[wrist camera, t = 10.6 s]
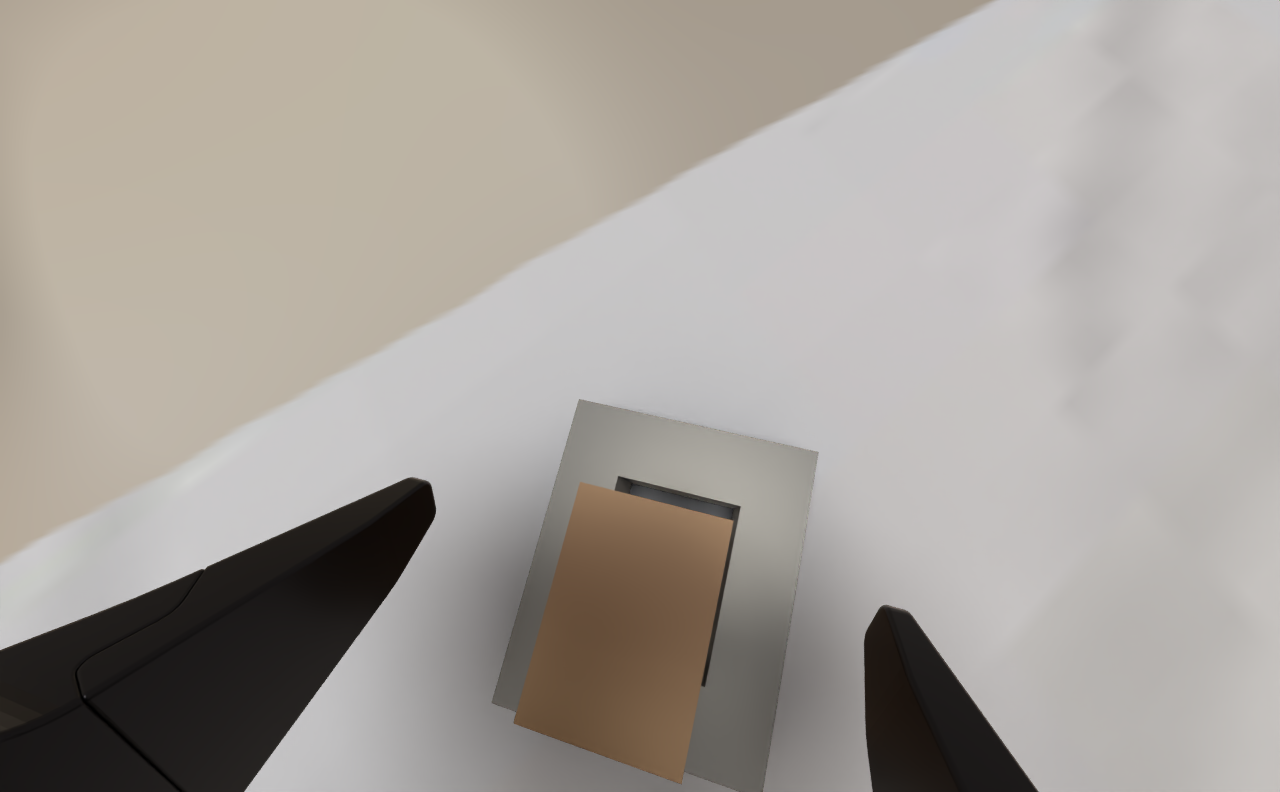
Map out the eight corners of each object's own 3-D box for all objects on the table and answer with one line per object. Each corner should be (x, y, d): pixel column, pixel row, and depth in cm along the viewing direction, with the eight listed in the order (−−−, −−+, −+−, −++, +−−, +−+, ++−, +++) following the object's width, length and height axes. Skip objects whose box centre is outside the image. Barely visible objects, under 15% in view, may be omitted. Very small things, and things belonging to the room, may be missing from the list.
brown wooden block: (691, 632, 21) (681, 784, 9) (617, 610, 22) (513, 723, 10) (715, 520, 22) (733, 520, 10) (643, 502, 23) (579, 481, 11)
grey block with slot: (749, 744, 20) (761, 799, 16) (528, 670, 21) (491, 702, 17) (797, 464, 22) (818, 452, 18) (598, 418, 24) (578, 399, 20)
